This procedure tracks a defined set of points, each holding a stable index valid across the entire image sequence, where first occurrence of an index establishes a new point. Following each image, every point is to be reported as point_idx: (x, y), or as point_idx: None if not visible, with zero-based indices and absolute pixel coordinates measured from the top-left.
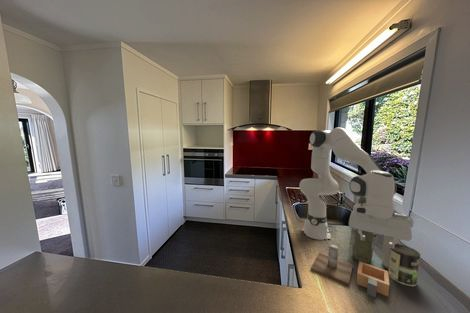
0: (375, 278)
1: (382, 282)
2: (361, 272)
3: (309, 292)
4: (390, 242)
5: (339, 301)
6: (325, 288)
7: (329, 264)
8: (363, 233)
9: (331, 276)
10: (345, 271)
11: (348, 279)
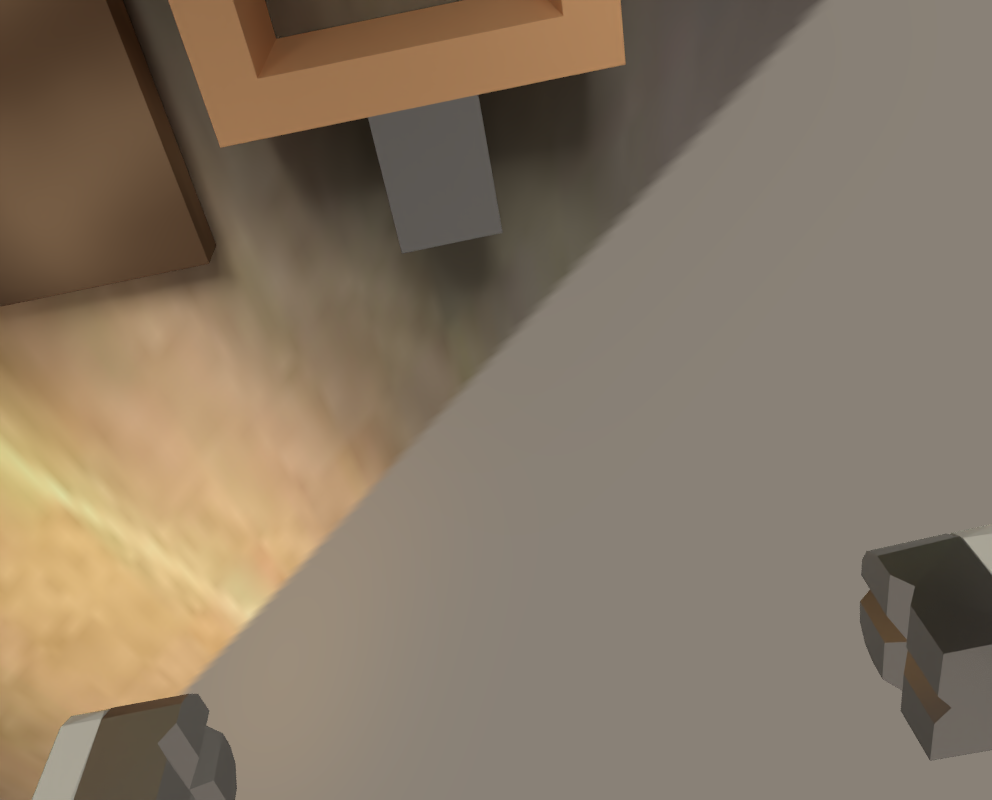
0: (449, 54)
1: (543, 74)
2: (252, 71)
3: (54, 604)
4: (972, 674)
5: (267, 501)
6: (93, 463)
7: None
8: None
9: (6, 301)
10: (26, 18)
11: (163, 187)
